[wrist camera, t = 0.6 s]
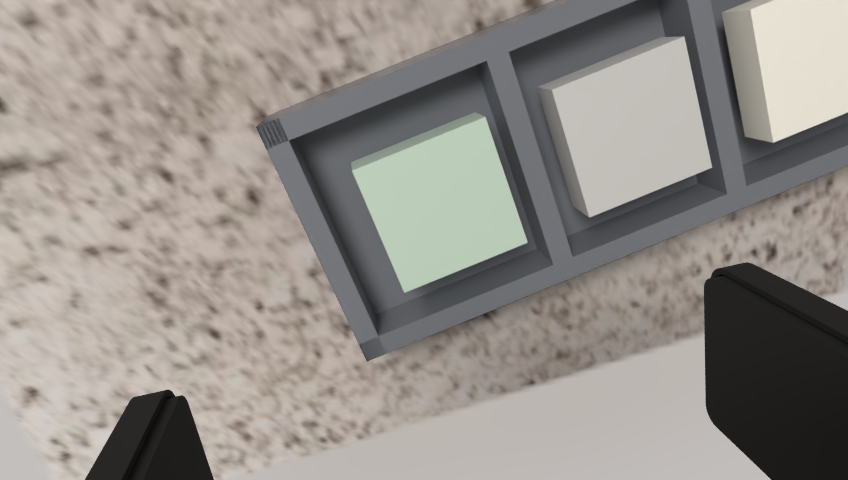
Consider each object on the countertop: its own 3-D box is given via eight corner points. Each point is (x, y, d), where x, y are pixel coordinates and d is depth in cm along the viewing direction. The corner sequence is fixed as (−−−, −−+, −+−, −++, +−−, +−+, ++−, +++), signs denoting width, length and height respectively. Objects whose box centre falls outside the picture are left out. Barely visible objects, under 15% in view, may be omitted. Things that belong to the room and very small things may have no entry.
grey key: (660, 37, 27) (684, 36, 25) (687, 159, 29) (712, 167, 27) (537, 87, 27) (551, 89, 25) (573, 206, 29) (589, 217, 27)
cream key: (843, -37, 27) (881, -44, 25) (859, 90, 29) (895, 93, 27) (721, 12, 27) (750, 9, 25) (745, 136, 29) (773, 142, 27)
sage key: (475, 112, 27) (485, 116, 25) (515, 230, 29) (527, 242, 27) (350, 162, 27) (351, 171, 25) (400, 277, 29) (404, 293, 27)
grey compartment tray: (836, -113, 29) (919, -141, 25) (863, 117, 33) (939, 127, 29) (268, 115, 29) (255, 127, 25) (363, 321, 33) (367, 361, 29)
